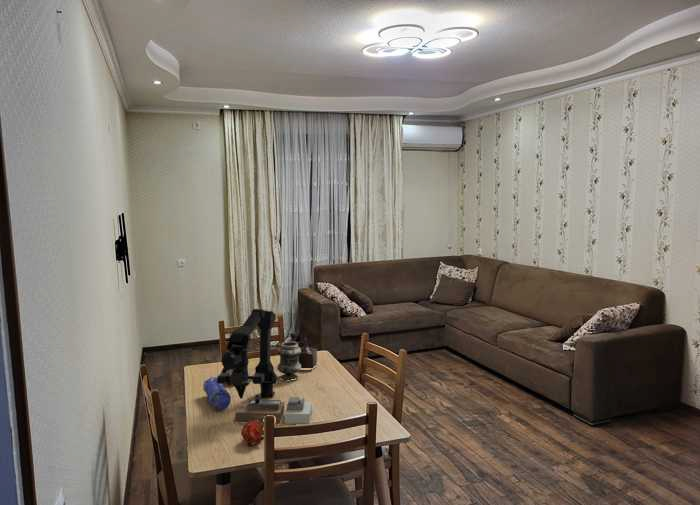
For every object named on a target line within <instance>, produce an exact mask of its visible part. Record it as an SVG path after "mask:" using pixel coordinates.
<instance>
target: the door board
mask: <svg viewBox="0 0 700 505" xmlns="http://www.w3.org/2000/svg"><path fill="white" fill-rule="evenodd" d="M251 401H255V399H249V401H241V404H240V405H239V406H238V408H237V410H236V411H235V413H234V414H235V419H234V420H235V423H236V422H249V421H254V420H258V421H259V422H261V423H262V422H263V419H264V416H267V415H274V416H275V417H276V423H275V424H280V423H281V421H282V418H283V416H284V414H285V402H284V401H281V399H261V401H280V407H279V404H252V403H251ZM262 424H263V423H262Z"/></svg>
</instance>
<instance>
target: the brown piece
mask: <svg viewBox="0 0 700 505" xmlns="http://www.w3.org/2000/svg"><path fill="white" fill-rule="evenodd" d="M289 337H290V338H291V342H296V343H298V344H303V343H304V346H303V347H299V348H300V349H301V353H300V354H299V363H300V364H301V368H313V367H314V366H315V365H316V363H317V364H318V348H314V347H310V346H309V345H308V344H307V342H308V338H307V337H304V339H303V340H302V341H297V332H293V331H292V332H290V334H289Z"/></svg>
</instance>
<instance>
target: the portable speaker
mask: <svg viewBox="0 0 700 505" xmlns="http://www.w3.org/2000/svg"><path fill="white" fill-rule="evenodd" d="M247 360H248V364H249V357H248V356H247ZM232 371H233V368H232V369H226V368H224V367H223V368H222V369H221V372H220V374H221V373H229V374H230V376H231V374H232ZM225 383H226V384H228V385H231V381H230V380H226V382H225Z"/></svg>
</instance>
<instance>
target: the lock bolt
mask: <svg viewBox="0 0 700 505" xmlns="http://www.w3.org/2000/svg"><path fill="white" fill-rule="evenodd" d="M254 400H255V401H251V403H252V404H279V407H280V401H261V400H262V397H261V394H260V393H256V394H254Z"/></svg>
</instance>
